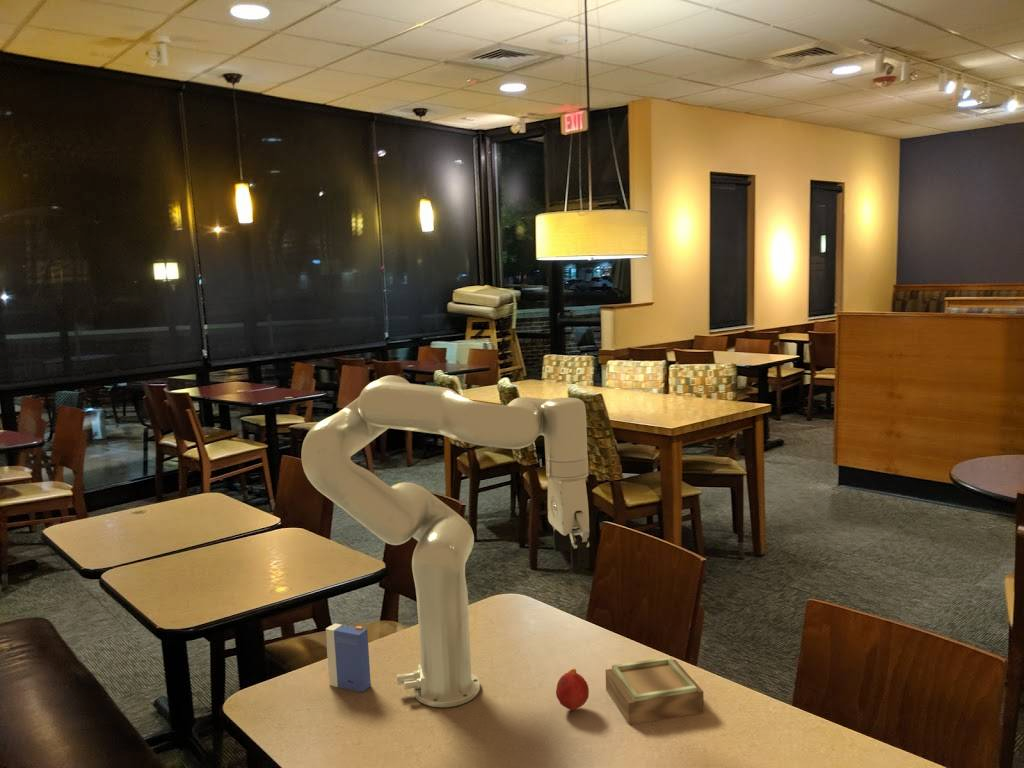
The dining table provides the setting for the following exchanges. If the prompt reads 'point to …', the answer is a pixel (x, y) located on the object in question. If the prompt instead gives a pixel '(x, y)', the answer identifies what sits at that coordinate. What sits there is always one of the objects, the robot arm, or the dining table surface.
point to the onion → (572, 690)
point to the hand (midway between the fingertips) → (571, 559)
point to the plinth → (653, 690)
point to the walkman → (348, 657)
